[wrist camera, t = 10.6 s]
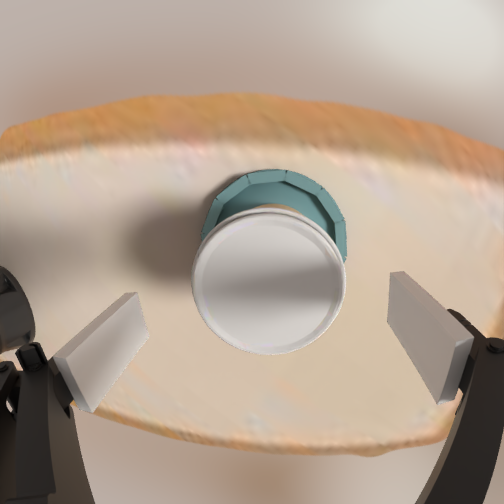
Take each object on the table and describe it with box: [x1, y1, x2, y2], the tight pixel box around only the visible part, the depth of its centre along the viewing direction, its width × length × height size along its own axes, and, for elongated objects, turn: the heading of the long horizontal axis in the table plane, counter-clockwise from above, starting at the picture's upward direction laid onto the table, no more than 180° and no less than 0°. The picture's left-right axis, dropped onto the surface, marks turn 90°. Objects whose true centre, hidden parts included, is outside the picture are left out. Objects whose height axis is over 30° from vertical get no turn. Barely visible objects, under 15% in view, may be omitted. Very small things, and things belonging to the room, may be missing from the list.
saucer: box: [201, 169, 347, 263], centre depth 28 cm, size 14×14×2 cm
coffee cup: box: [191, 204, 346, 355], centre depth 22 cm, size 9×9×12 cm
